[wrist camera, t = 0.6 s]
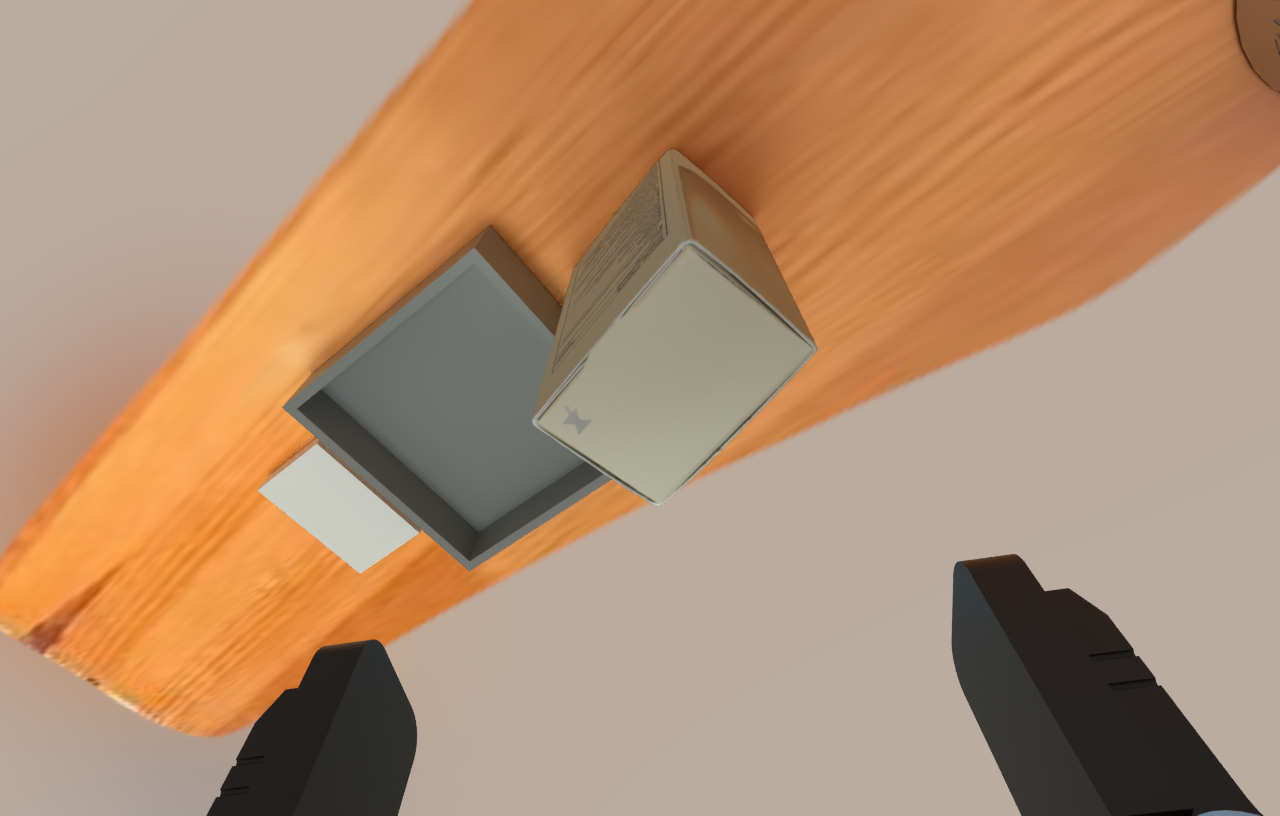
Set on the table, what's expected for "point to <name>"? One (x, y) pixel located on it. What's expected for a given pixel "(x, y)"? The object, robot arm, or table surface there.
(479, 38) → the table surface
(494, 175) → the table surface
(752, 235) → the skincare box
